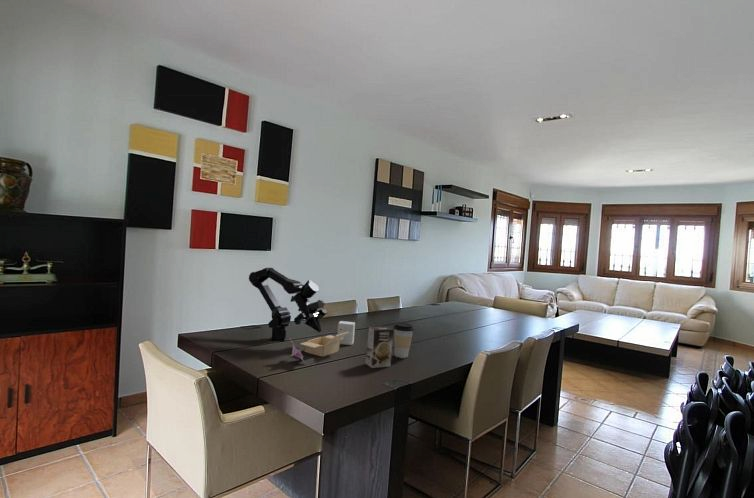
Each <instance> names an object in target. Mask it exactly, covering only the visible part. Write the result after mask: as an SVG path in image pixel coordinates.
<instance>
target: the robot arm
mask: <svg viewBox="0 0 754 498" xmlns="http://www.w3.org/2000/svg"><path fill="white" fill-rule="evenodd" d="M268 279H270V280H273V281H274V282H275V283H277V284H278V285H279V286H281V287H282V288H283V290H284V291H285V292H286V293H287V294H289V295H291V298H290V302H291V303H292V302H295V304H296V306H297V307H298V309H297V311H298V312H299V314H298V315H296V316H295V317H294V319H293V322H294V324H295V326H297V325H301V321H305V322H304V325H306V326H308V327H309V328H312V329H313V330H315V331H316V332H318V333H321V332H322V329H321V328H322V327H321V321H320V320H322V319H323V318H324V317H325V316H326V315H327V314H328V313H329V312H328V310H327V309H326V308H324V306H325V305H326V304H325V301H324V300H323V299H317V301H315V302H313V301H310V300H309V299H312V297H314V296H315V295H316V293H318V292H319V290H320V289H319V285H318V284H316V283H315V282H313V281H312V279H310V280H309V279H308V280H307V281H306V282H305V283H304V284H303V283H302V282H301V281H299V280H296V279H291V278H289V277H287V276H285V275H284V274H282V273H281V272H279V271H277V270H276V269H275V268H273V267H265V268H262V269H260V270H257V271H252V272H250V274H249V276H248V281H249V282H250V284H251V285H252V286H253V287H255V288H256V289H257V290H259V293H260V294H261V295H262V297H263V299H264V301H265V303H266V304H267V306H268V308H269V309H270V311H271V318H272V319H271V320H270V321H269V322H268V328H270V329H271V333H270V341H272V342H277V341H278V342H279V341H280V342H284V341H286V337H287V330H286V327H287V328H288V327H289V324H290V322H291V318H292V316H291V312H290V311H289V310H288V308H287V306H286V307H282V306H281V304H280V303H279V301H278V299H277V298H276V296H275V294H274V293H273V291H272V290H271V287H270V286H269V283H268V281H269V280H268Z"/></svg>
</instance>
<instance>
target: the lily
mask: <svg viewBox="0 0 754 498" xmlns="http://www.w3.org/2000/svg"><path fill="white" fill-rule="evenodd" d="M289 340H290V341H291V344H292V352H291V355H290V356H289V358H288V359H287V361H286V362H285V364H288V361H289V360H290V359H291V358H292V357H296V358H299V359H301V361H302V362H303V363H304V365H306V363H305V361H304V359H303V358H304V355H303V354H302V351H301V349H299V350H298V349H297V348H296V346H295V344H294V342H293V340H292V339H291V338H289Z"/></svg>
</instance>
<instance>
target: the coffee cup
mask: <svg viewBox="0 0 754 498" xmlns="http://www.w3.org/2000/svg"><path fill="white" fill-rule="evenodd" d="M393 330H394V333H393V338H394V339H393V341H394V356H395V357H396V358H398V357H399V359H407V358H408V357H409V351H410V348H411V343H412V337H413V331H414V327H413V325H412V324H410V323H408V322H396V323H395V325H393ZM406 357H407V358H406Z"/></svg>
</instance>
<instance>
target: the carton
mask: <svg viewBox="0 0 754 498" xmlns="http://www.w3.org/2000/svg"><path fill="white" fill-rule="evenodd" d="M335 336H336V335H331V334H329V335H326V336H320V337H315V338H313V339H308V340H306V341H304V342H301V343H300V345H302V346H304V353H308V354H311V355H315V356H319V357H322V358H323V357H326V356H329V355H331V354H334V353H337V352H340V345H341V344H340V341H337V342H334V343H330V344H327V345H325V344H326V343H327V342H329V341H330V340H331V339H332V338H333V337H335ZM342 339H344V338H341V339H340V340H342Z"/></svg>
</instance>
